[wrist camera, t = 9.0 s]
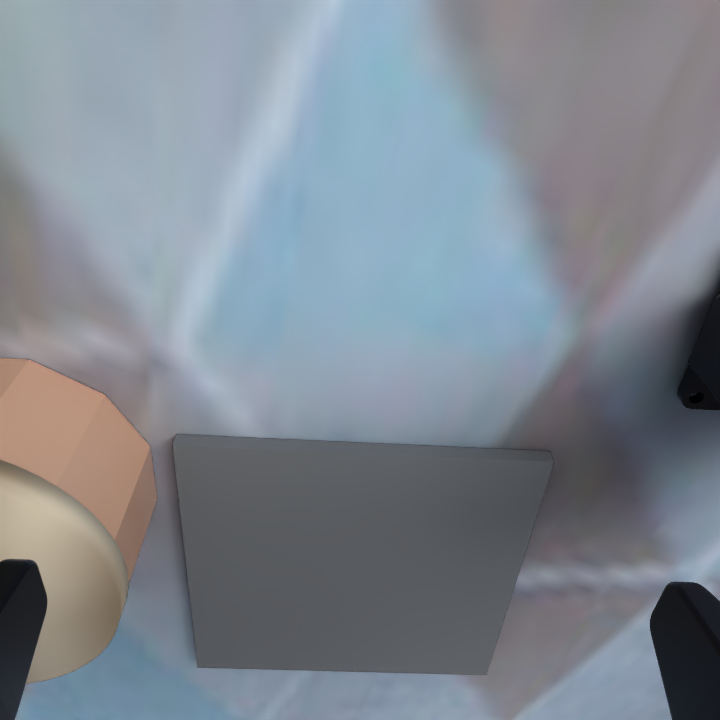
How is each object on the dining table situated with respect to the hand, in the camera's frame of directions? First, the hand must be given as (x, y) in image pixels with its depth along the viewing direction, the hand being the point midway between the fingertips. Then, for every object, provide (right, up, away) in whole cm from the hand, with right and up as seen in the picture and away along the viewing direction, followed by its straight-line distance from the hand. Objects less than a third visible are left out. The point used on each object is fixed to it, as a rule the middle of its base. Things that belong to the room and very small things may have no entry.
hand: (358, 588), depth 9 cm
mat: (0, -6, +19) cm, 20 cm away
